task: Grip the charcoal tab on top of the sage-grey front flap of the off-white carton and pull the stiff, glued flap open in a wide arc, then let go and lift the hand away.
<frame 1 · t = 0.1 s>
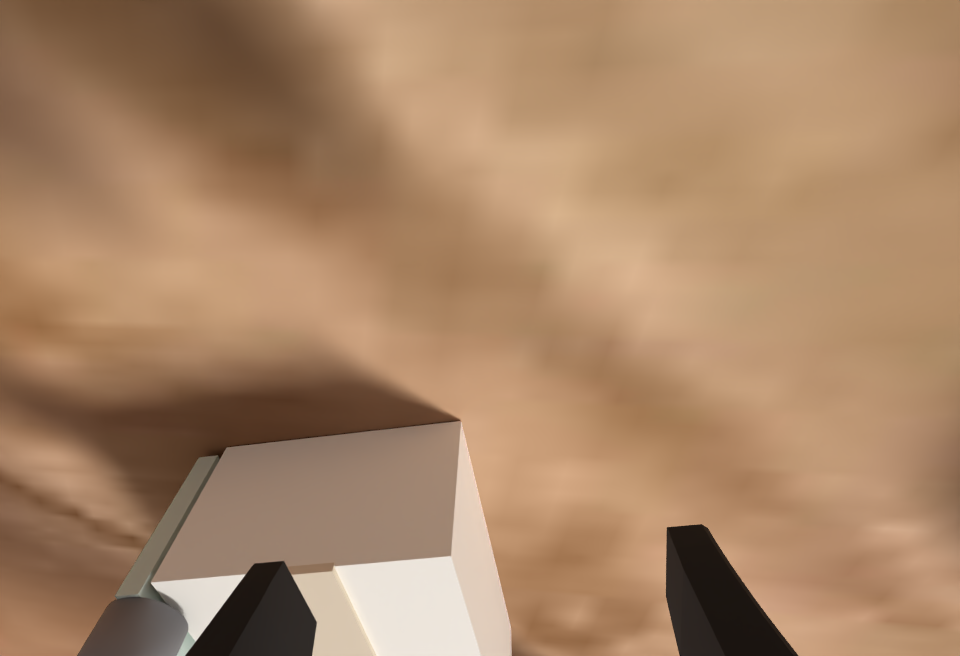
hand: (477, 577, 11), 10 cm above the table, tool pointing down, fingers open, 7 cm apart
carton: (385, 548, 26), on the table
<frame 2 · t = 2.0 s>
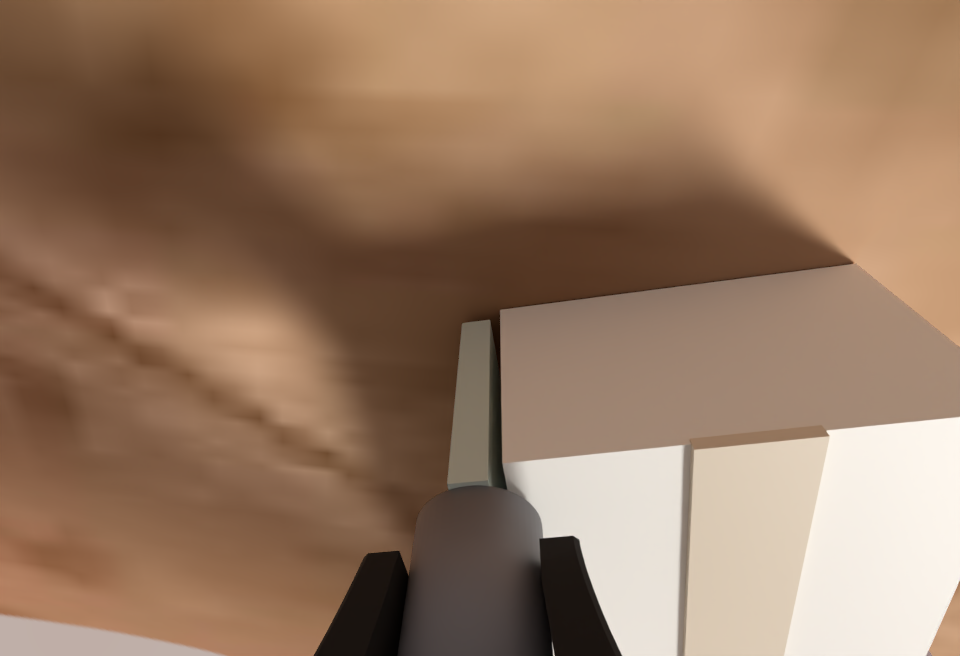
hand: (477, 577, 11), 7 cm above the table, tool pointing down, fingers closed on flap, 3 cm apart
flap: (512, 621, 16), point 5 cm above the table, hinge at 0.0°, touching gripper
carton: (669, 468, 19), on the table
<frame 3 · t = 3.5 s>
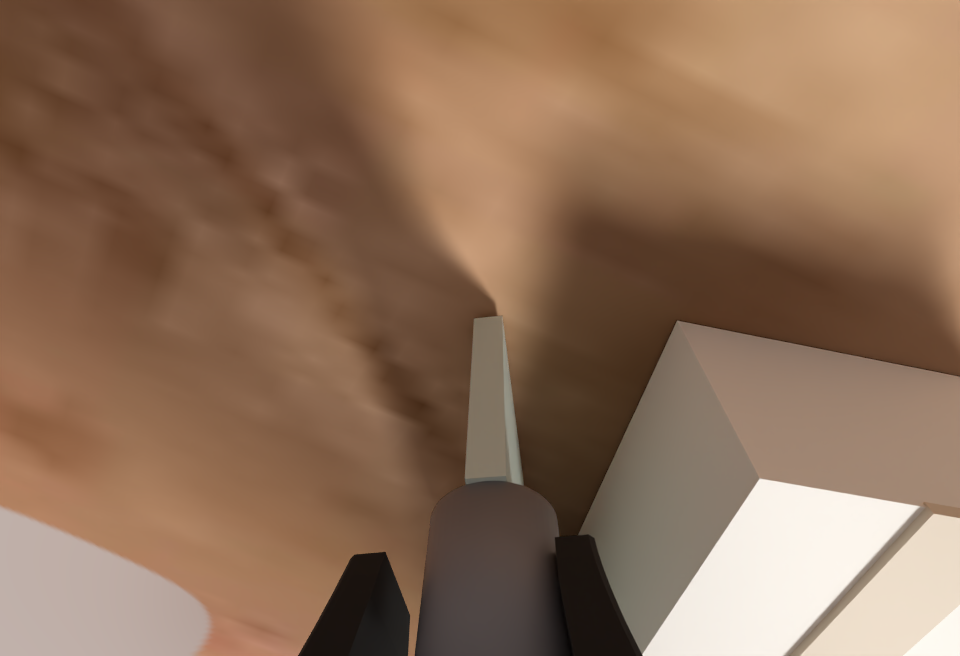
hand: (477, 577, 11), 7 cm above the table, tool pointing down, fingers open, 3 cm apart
flap: (517, 619, 16), point 5 cm above the table, hinge at 19.5°, touching gripper
carton: (728, 509, 20), on the table
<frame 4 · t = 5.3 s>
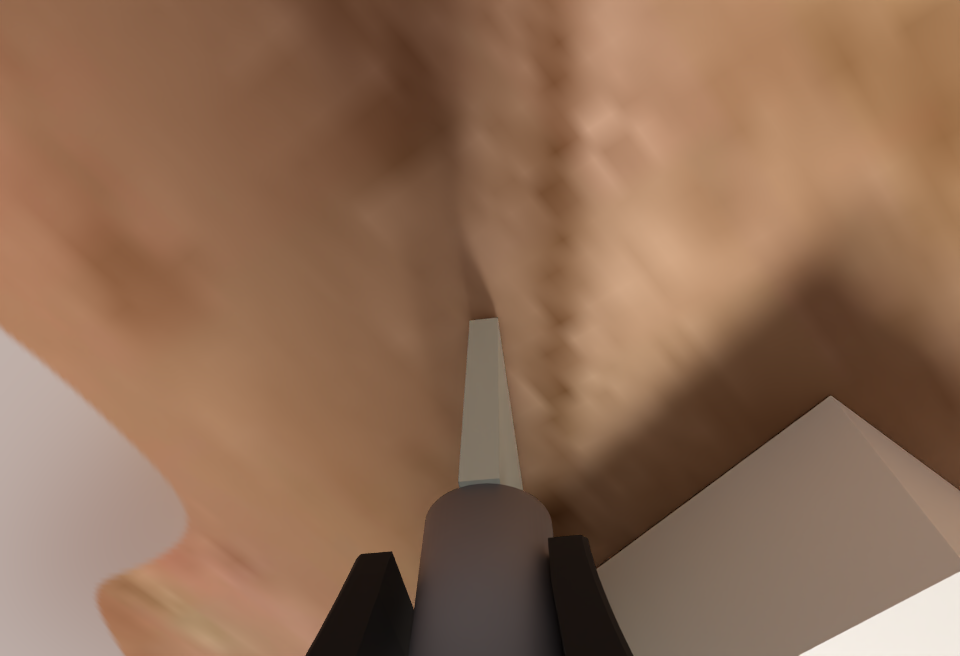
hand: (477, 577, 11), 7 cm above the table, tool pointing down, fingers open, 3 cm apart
flap: (515, 620, 16), point 5 cm above the table, hinge at 43.8°, touching gripper
carton: (755, 567, 22), on the table
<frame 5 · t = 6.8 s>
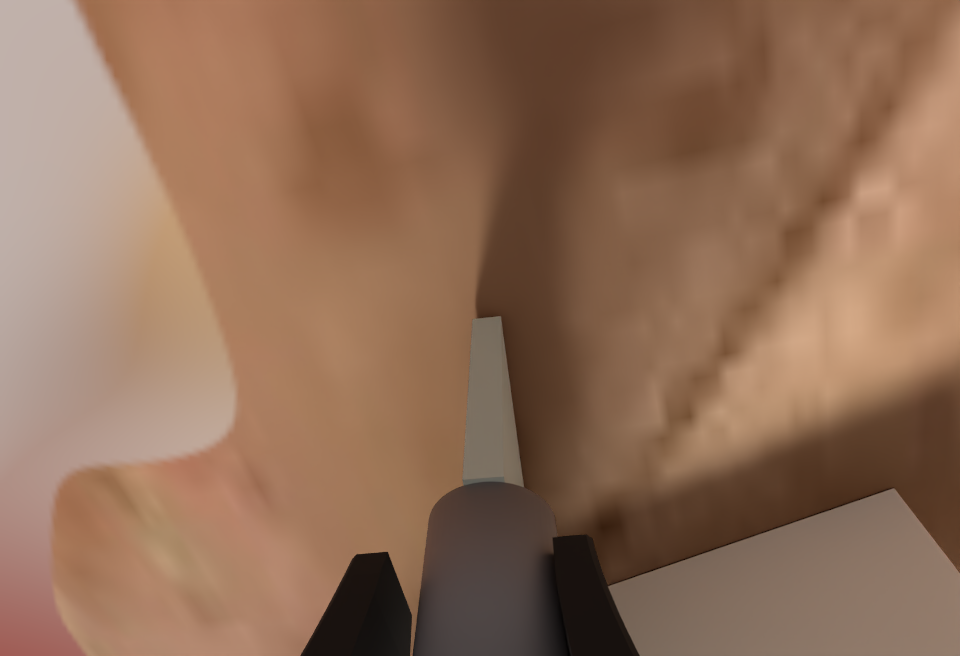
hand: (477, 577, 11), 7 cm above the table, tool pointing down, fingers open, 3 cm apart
flap: (516, 619, 16), point 5 cm above the table, hinge at 65.2°, touching gripper
carton: (741, 618, 24), on the table
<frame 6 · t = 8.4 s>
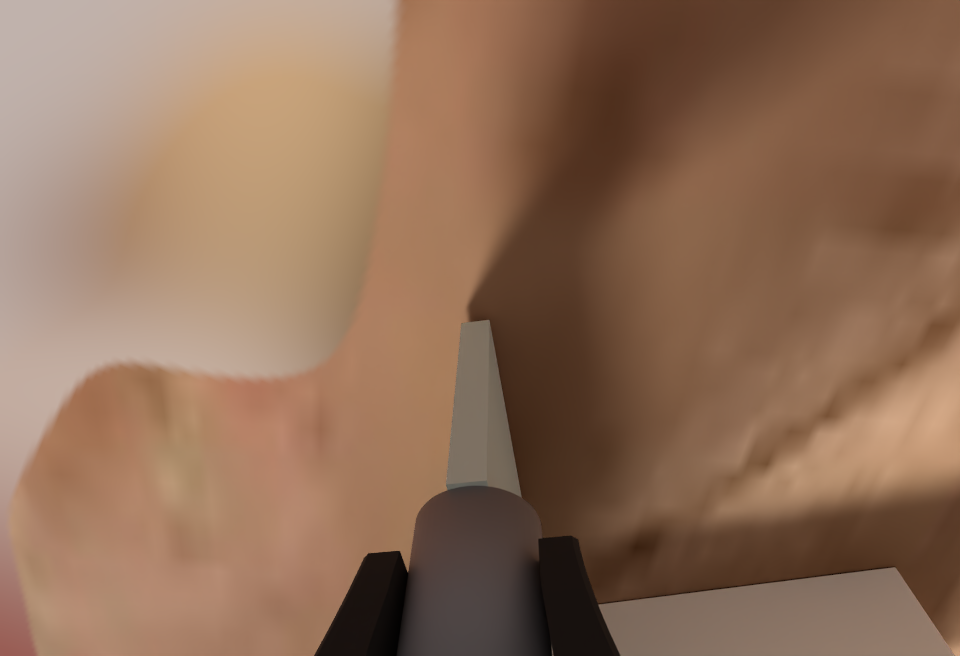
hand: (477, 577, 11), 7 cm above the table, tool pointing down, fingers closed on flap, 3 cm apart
flap: (511, 622, 16), point 5 cm above the table, hinge at 85.1°, touching gripper
carton: (712, 655, 25), on the table
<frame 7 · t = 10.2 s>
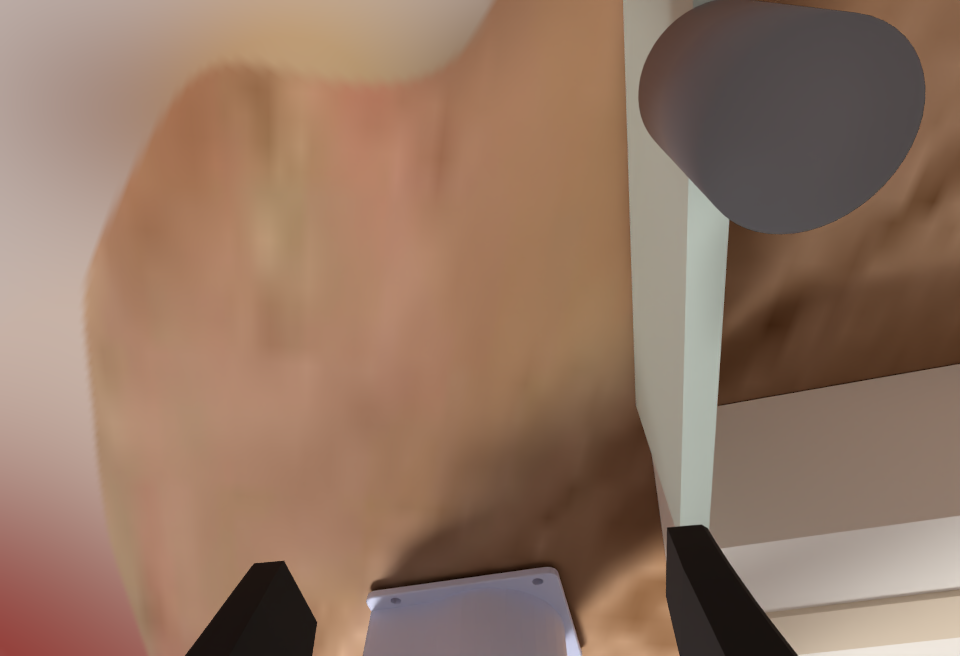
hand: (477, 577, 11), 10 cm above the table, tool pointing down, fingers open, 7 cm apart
flap: (686, 313, 14), point 5 cm above the table, hinge at 85.1°
carton: (831, 475, 24), on the table
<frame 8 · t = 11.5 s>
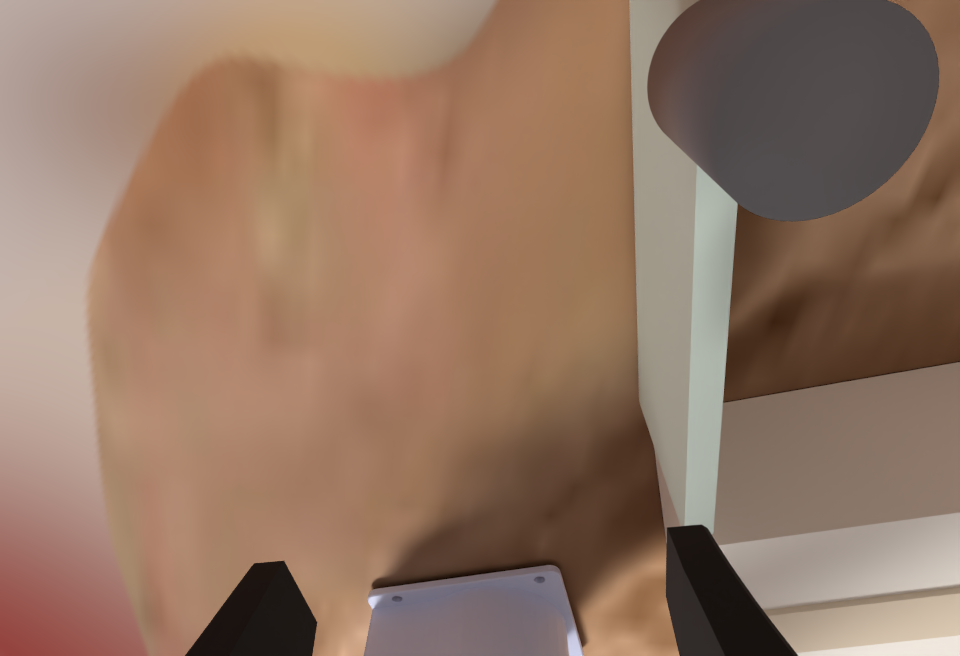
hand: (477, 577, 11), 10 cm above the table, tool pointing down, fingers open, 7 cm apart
flap: (692, 307, 14), point 5 cm above the table, hinge at 85.1°
carton: (834, 473, 23), on the table
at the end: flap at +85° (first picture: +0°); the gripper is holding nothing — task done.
